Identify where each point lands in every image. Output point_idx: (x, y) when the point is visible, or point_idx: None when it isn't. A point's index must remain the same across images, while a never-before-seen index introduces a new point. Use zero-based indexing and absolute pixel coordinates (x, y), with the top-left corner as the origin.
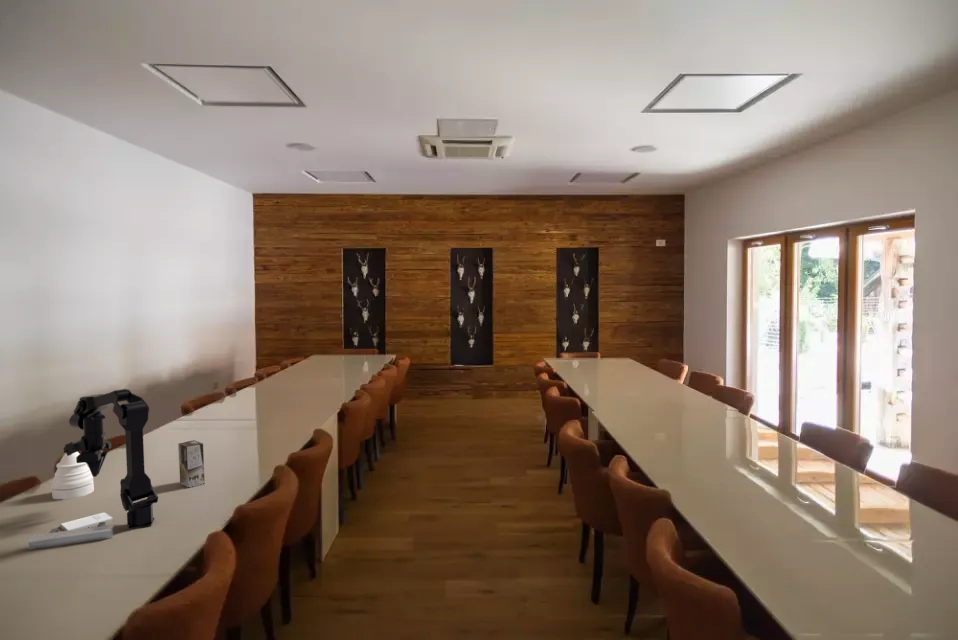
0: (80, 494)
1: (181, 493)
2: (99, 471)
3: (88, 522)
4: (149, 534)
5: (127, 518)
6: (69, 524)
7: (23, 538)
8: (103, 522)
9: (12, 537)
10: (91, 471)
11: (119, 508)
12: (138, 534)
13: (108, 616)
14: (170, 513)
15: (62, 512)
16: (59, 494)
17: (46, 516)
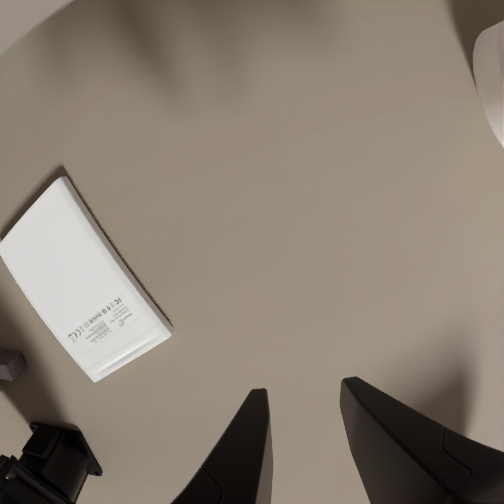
0: (497, 126)
1: (340, 494)
2: (348, 436)
3: (50, 305)
4: (16, 453)
5: (29, 439)
6: (39, 230)
7: (3, 93)
8: (6, 376)
9: (27, 43)
10: (224, 439)
11: (248, 370)
12: (12, 437)
13: None
14: (146, 498)
15: (286, 94)
16: (487, 43)
17: (245, 38)
